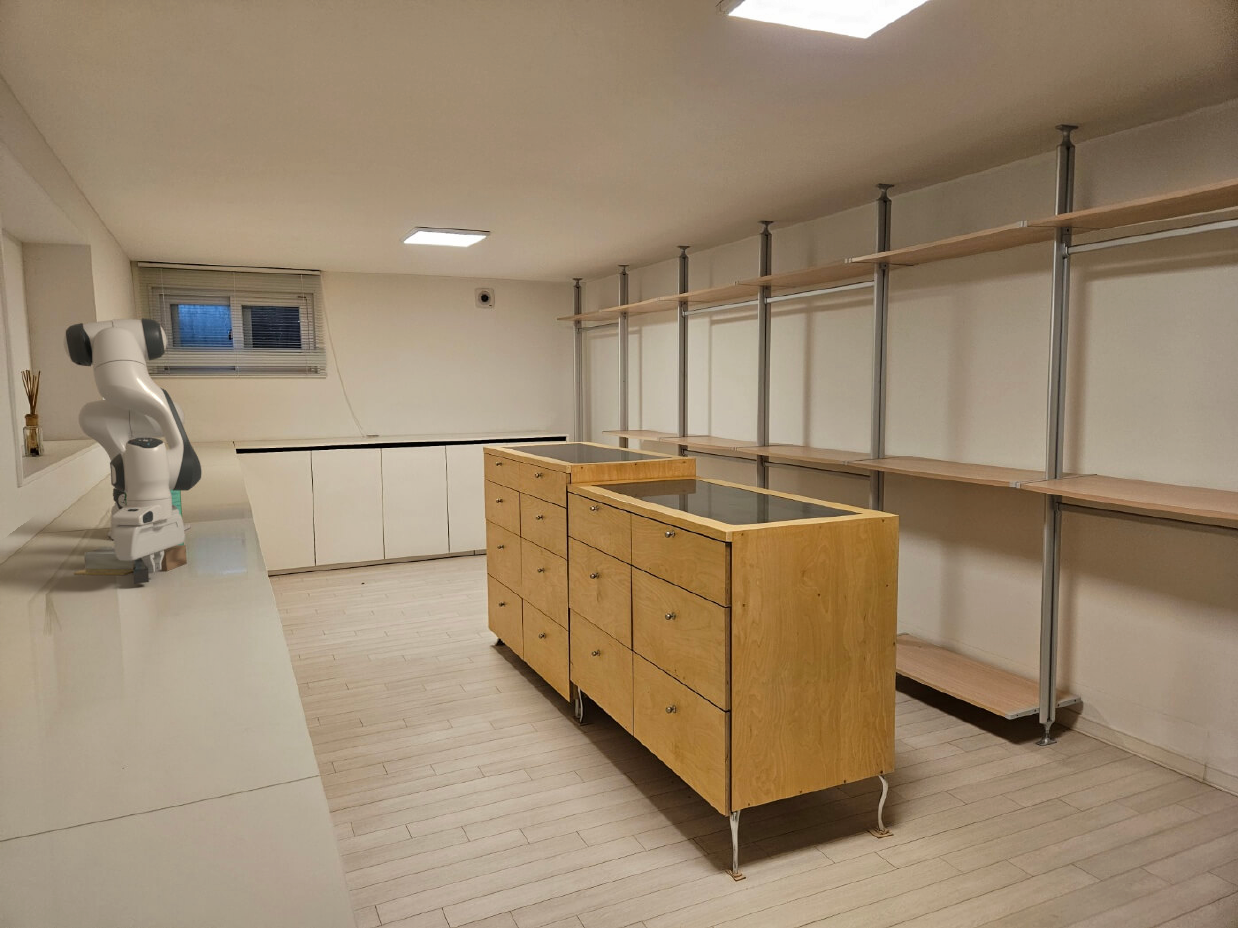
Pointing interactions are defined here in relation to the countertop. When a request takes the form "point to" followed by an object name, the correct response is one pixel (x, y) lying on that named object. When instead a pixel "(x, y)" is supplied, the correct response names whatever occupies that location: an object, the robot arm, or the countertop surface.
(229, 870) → the countertop surface
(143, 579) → the swing bar
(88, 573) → the strike pad
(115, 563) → the door edge
